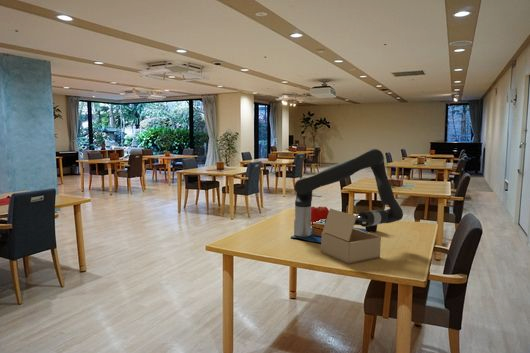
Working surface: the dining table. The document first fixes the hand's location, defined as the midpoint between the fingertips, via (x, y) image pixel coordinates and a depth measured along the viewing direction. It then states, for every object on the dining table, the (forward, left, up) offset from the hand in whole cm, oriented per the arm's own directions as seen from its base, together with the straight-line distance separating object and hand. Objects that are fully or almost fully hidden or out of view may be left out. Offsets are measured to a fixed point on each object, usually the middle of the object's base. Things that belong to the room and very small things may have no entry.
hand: (342, 222), depth 187 cm
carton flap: (-3, -3, -6) cm, 8 cm away
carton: (+4, +3, -17) cm, 18 cm away
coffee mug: (+18, +54, -17) cm, 60 cm away
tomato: (-14, +62, -17) cm, 66 cm away
